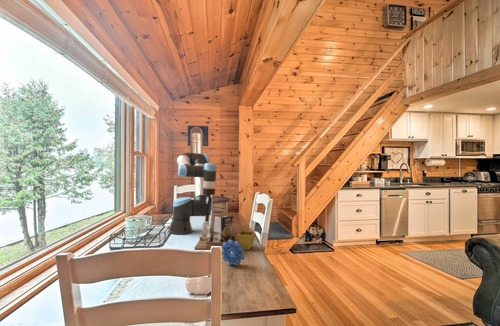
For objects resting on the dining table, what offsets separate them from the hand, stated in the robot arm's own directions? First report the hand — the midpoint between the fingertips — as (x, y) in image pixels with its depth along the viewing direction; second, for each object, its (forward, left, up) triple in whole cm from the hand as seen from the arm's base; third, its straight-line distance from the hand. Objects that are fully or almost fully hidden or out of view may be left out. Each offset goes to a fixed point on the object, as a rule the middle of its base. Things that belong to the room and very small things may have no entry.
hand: (206, 226), depth 152 cm
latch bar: (+7, 0, -2) cm, 7 cm away
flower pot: (+11, +24, -9) cm, 28 cm away
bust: (+61, +8, -9) cm, 62 cm away
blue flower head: (+37, +18, -9) cm, 42 cm away
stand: (+11, +8, -9) cm, 17 cm away
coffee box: (+11, +11, -7) cm, 17 cm away
